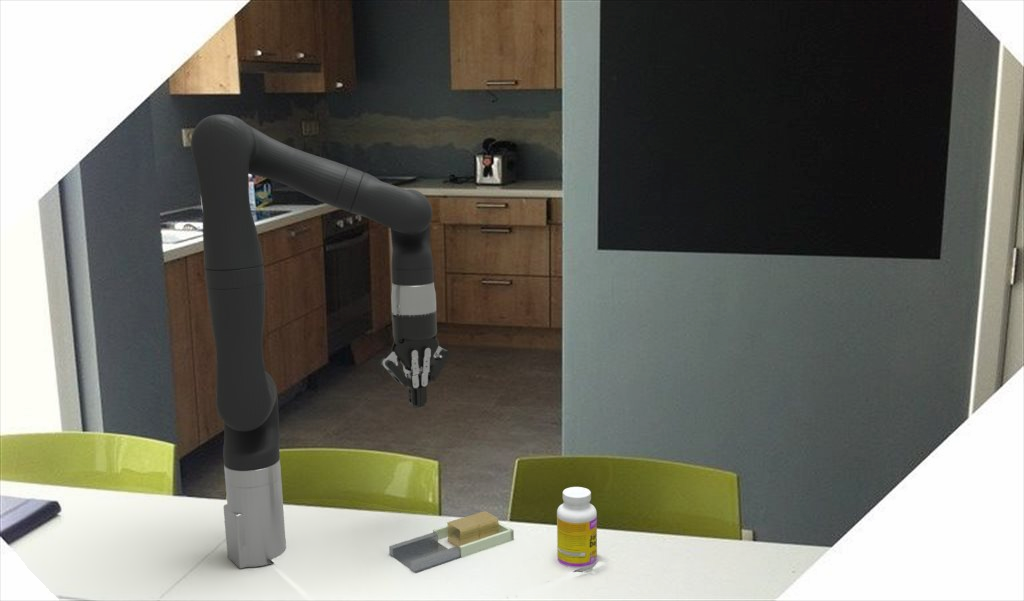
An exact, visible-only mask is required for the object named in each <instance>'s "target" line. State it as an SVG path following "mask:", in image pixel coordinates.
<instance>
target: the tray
mask: <svg viewBox="0 0 1024 601" xmlns="http://www.w3.org/2000/svg"><path fill="white" fill-rule="evenodd" d="M498 529H499V533H498V534H495V535H492V536H489V537H486V538H483V539H480V540H477V541H474V542H471V543H468V544H465V545H462V546H459V548H460V555H461V557H462V558H466V557H469V556H471V555H474V554H477V553H479V552H481V551H486V550H488V549H491V548H494V547H496V546H500V545H503V544H506V543H509V542H511V541H515V539H514V538H515V536H514V531H515V530H514V529H512V528H511V527H508V526H507V525H505V524H503V523H502V522H500V521H498ZM433 532H435V533H436V534H438V541H439V540H442V539H446V538H448V525H445V526H441V527H438V528H435V529H433V530H432V533H433Z"/></svg>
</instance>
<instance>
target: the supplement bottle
mask: <svg viewBox="0 0 1024 601" xmlns="http://www.w3.org/2000/svg"><path fill="white" fill-rule="evenodd" d="M562 500H563V503H562V504H560V505H559V506H558V507H557V510H556V530H557V531H556V538H557V539H556V541H557V542H556V543H557V546H556V547H557V548H556V551H557V553H556V556H557V561H558V564H561V565H562V566H564V567H567V568H572V569H575V570H574V572H575V573H578V572H579V573H580V572H586V571H590V570H591V569H593V568H594V567H596V565H597V560H598V538H597V537H598V536H597V535H598V534H597V533H598V532H597V531H598V528H597V527H598V526H597V525H598V522H597V521H598V515H597V514H598V513H597V512H598V511H597V509H596V507H595V506H594V505H593V504H592V503H590V502H591V500H592V492H591V490H590V489H589V488H586V487H581V486H570V487H567V488H565V489H563V491H562Z"/></svg>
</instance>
